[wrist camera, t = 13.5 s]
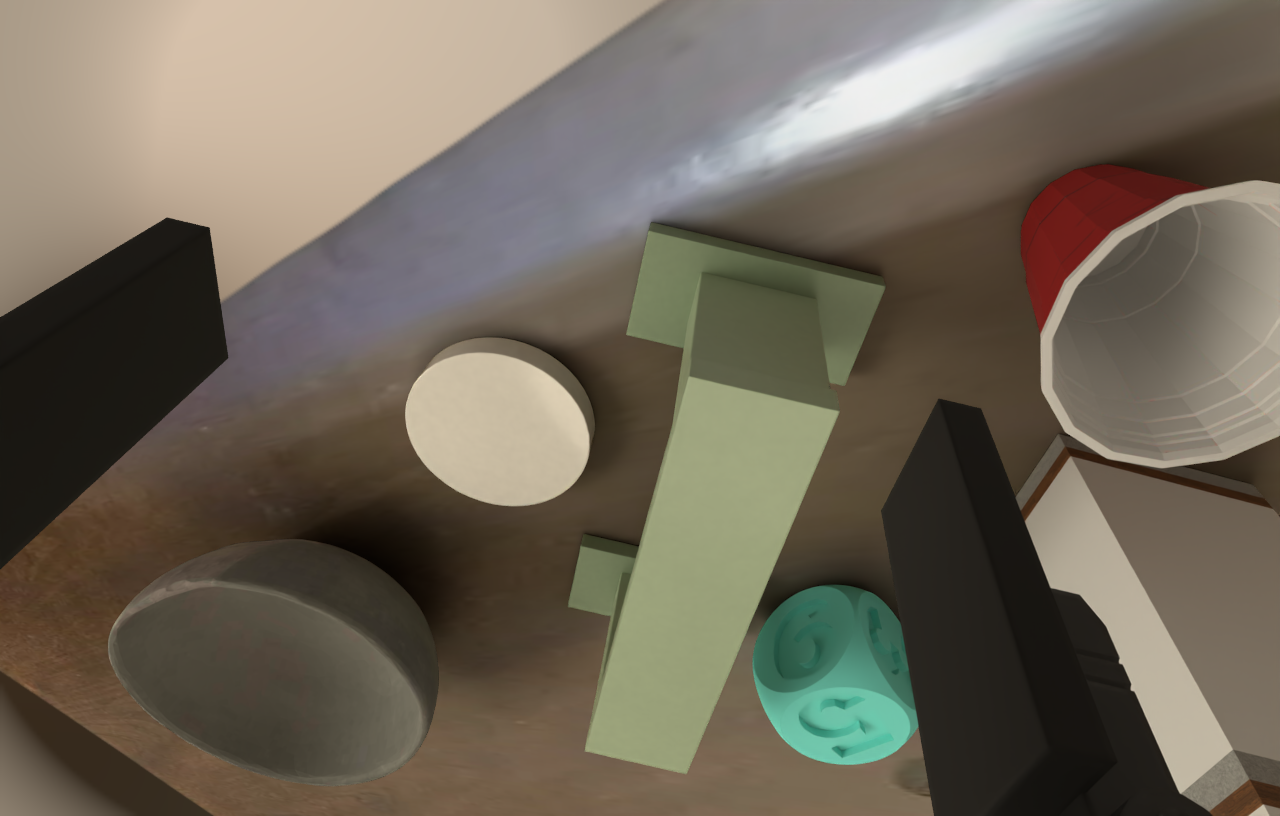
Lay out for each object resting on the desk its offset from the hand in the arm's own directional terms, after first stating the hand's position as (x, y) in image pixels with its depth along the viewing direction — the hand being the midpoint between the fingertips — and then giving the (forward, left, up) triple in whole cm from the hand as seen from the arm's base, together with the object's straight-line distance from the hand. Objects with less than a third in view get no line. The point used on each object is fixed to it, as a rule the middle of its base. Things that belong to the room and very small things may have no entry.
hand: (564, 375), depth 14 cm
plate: (+21, -6, -26) cm, 34 cm away
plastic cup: (+2, +20, -26) cm, 33 cm away
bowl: (+40, -17, -26) cm, 50 cm away
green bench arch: (+21, +6, -26) cm, 34 cm away
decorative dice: (+32, +18, -26) cm, 45 cm away
